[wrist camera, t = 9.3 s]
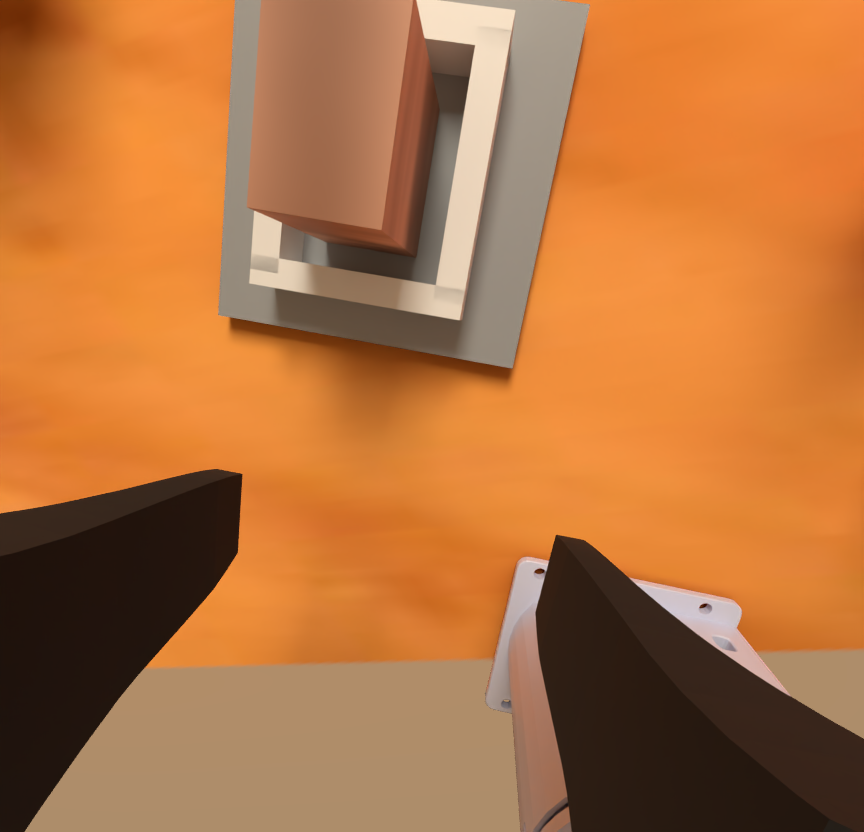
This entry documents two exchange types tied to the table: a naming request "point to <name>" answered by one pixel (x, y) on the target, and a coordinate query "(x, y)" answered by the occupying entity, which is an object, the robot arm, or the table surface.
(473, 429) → the table surface
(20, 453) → the table surface
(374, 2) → the block
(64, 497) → the table surface
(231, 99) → the grey framed tray
